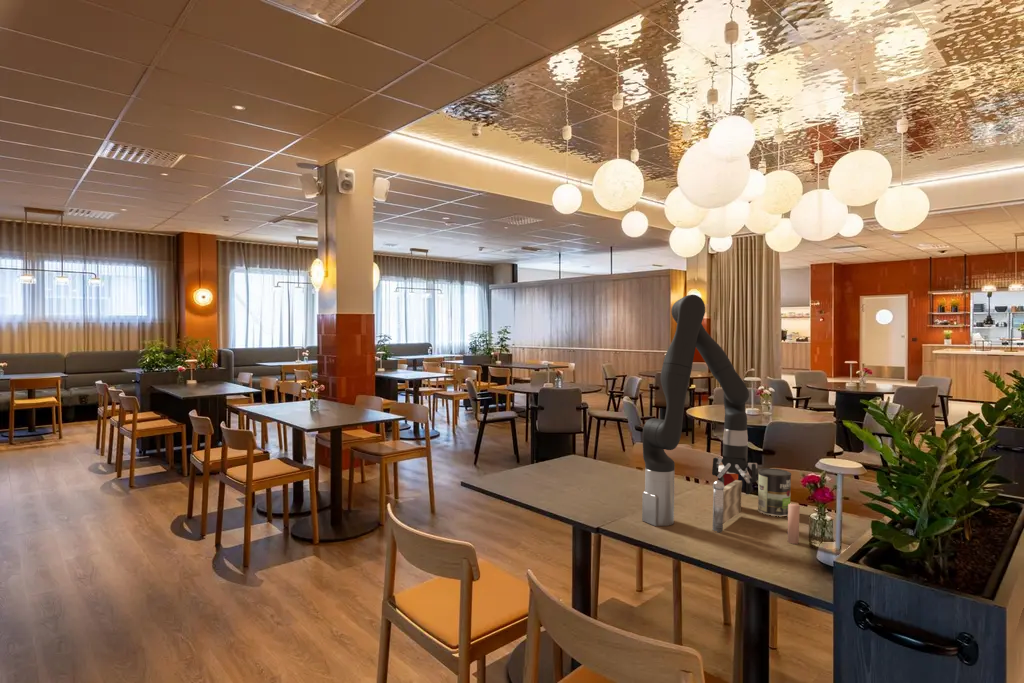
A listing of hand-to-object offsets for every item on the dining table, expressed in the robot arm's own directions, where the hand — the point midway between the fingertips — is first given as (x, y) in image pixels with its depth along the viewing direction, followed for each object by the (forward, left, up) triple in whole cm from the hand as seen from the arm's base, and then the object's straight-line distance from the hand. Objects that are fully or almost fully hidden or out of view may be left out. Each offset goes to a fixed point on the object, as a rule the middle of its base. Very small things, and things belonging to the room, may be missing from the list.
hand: (734, 491), depth 185 cm
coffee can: (+18, -2, -9) cm, 20 cm away
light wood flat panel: (-4, -2, -8) cm, 9 cm away
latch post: (-2, -22, -9) cm, 24 cm away
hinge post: (-14, -5, -9) cm, 18 cm away
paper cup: (+9, +10, -9) cm, 16 cm away
